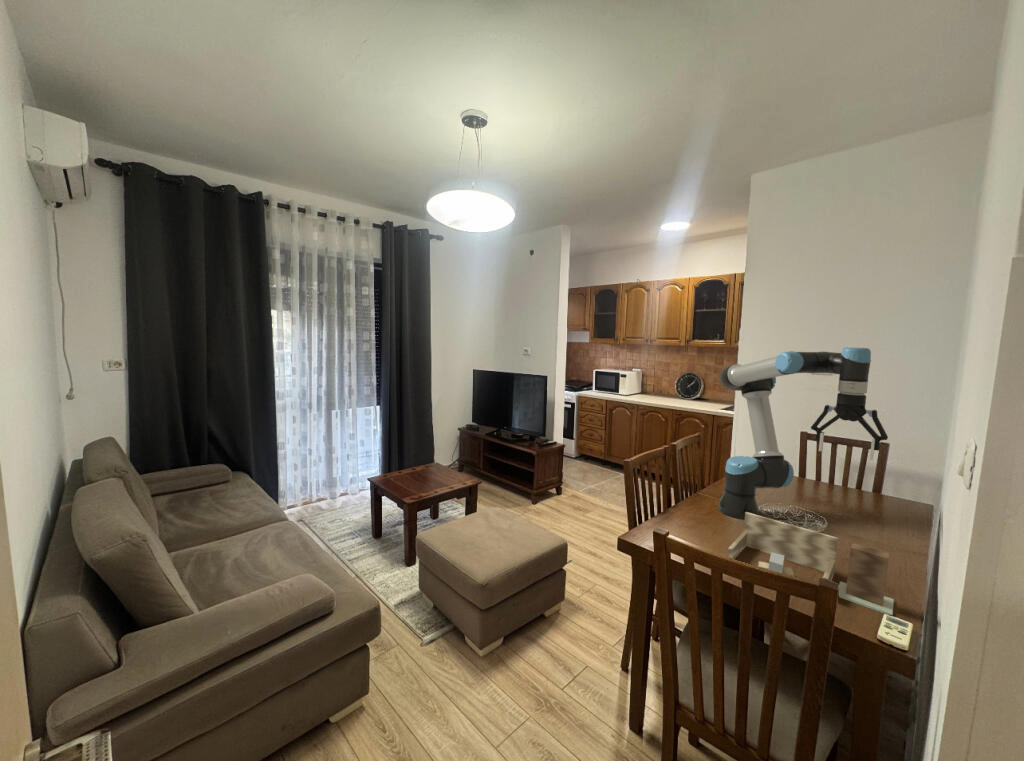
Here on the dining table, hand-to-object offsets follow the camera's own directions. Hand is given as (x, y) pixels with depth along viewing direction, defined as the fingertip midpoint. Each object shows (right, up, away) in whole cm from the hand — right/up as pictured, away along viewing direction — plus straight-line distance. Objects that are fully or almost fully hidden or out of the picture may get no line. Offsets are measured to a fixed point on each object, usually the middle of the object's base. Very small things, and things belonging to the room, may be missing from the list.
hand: (845, 454), depth 140 cm
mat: (-13, -37, -23) cm, 46 cm away
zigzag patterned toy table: (-28, -35, -8) cm, 46 cm away
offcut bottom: (-32, -36, -12) cm, 49 cm away
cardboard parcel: (-13, -37, -23) cm, 45 cm away
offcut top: (-32, -33, -12) cm, 47 cm away
